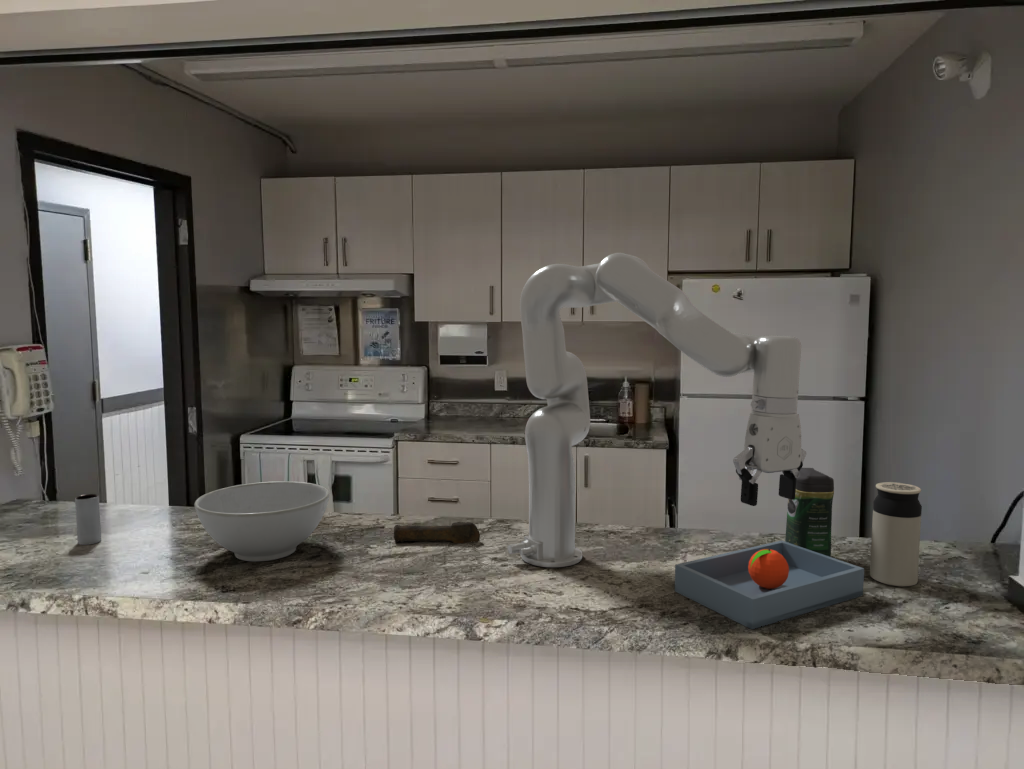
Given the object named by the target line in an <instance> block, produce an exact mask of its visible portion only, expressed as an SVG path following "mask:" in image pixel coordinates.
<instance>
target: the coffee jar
mask: <svg viewBox="0 0 1024 769" xmlns="http://www.w3.org/2000/svg"><path fill="white" fill-rule="evenodd" d="M795 478H796V477H795ZM834 495H835V480H834V478H833V477H831V476H829V475H827V474H825V473H823V472H821V471H819V470H816V469H815V468H813V467H802V468H801V469H800V471H799V476H798V477H797V478H796V493H795V499H793V500H791V499H787V510H786V522H785V524H786V525H785V526H786V527H785V536H784V537H785V538H784V541H785V542H788V543H791V544H794V545H797V546H800V547H802V548H805V549H808V550H811V551H814V552H817V553H820V554H823V555H826V556H829V557H832V522H833V502H834V501H833V500H834Z"/></svg>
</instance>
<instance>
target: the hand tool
mask: <svg viewBox="0 0 1024 769" xmlns="http://www.w3.org/2000/svg"><path fill="white" fill-rule="evenodd" d="M480 539H481V535H480V531H479V529H478V527H477V525H476V524H474V523H473V522H469V521H467V522H465V521H456V522H452V523H451V525H426V526H425V525H399V524H395V525H394V527H393V541H394V543H398V542H400V543H404V542H415V541H416V542H419V541H422V542H423V541H424V542H434V541H435V542H436V541H438V542H440V541H444V542H452V544H467V543H468V544H470V543H475V542H476V543H478V542H480Z"/></svg>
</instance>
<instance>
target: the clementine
mask: <svg viewBox="0 0 1024 769" xmlns="http://www.w3.org/2000/svg"><path fill="white" fill-rule="evenodd" d="M748 570H749V574H750V576H751V578H752V580H753V581H754V582H755V583H756V584H758V585H759V586H761V587H763V588H767V589H774V588H777V587H779V586H781V585H782V584H783V583H784V582H785V581H786V580H787V578H788V574H789V566H788V563H787V561H786V559H785V558H784V557H783V556H782V555H781V554H780V553H778V552H777V551H775V550H771V549H762V550H760V551H758V552H756V553H755V554H754V555H753V556H752V557H751V559H750V561H749V565H748Z"/></svg>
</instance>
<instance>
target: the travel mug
mask: <svg viewBox="0 0 1024 769" xmlns="http://www.w3.org/2000/svg"><path fill="white" fill-rule="evenodd" d="M875 488H876V489H877V490H876V491H877V495H876V497H875V498H874V499H873V505H872V506H873V507H872V520H871V521H872V522H871V523H872V527H871V542H870V543H871V544H870V545H871V547H870V559H869V560H870V565H869V576H870V577H871V579H874V580H875V581H876V582H878V583H881V584H883V585H888V586H891V587H903V588H904V587H911V586H914V585H917V583H918V579H919V564H920V562H919V561H920V547H921V546H920V544H921V530H922V529H921V526H922V525H921V524H922V504H921V502H920V500H919V497H920V496H919V495H920V493H921V492H922V488H920V487H919V486H917V485H914V484H908V483H902V482H895V481H894V482H893V481H888V482H887V481H886V482H883V481H882V482H879V483H878V482H877V483H876V484H875Z"/></svg>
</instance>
